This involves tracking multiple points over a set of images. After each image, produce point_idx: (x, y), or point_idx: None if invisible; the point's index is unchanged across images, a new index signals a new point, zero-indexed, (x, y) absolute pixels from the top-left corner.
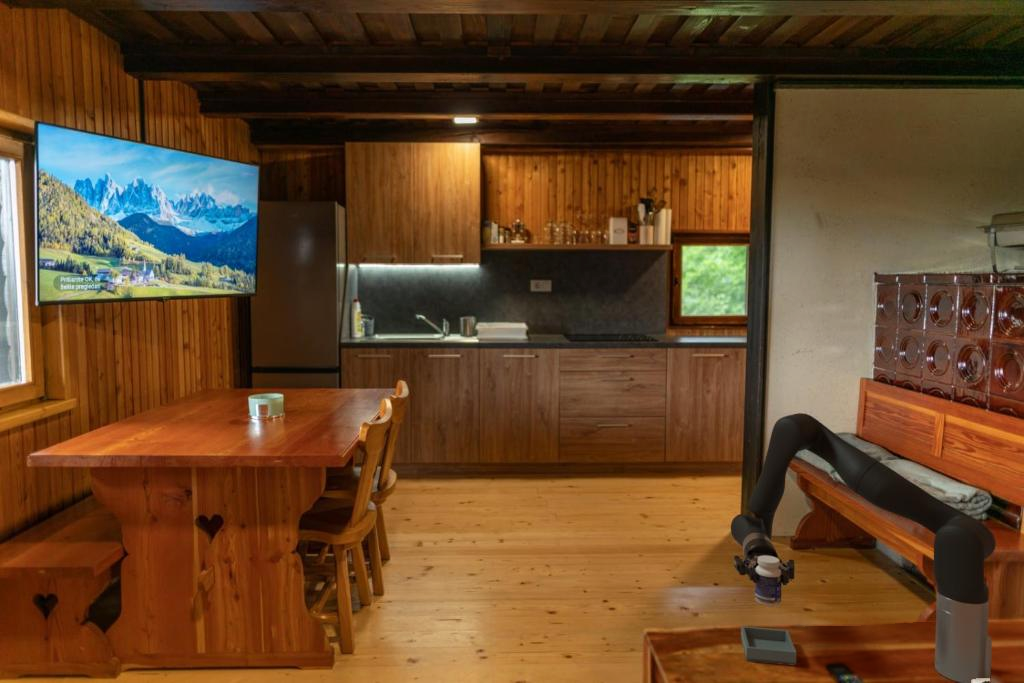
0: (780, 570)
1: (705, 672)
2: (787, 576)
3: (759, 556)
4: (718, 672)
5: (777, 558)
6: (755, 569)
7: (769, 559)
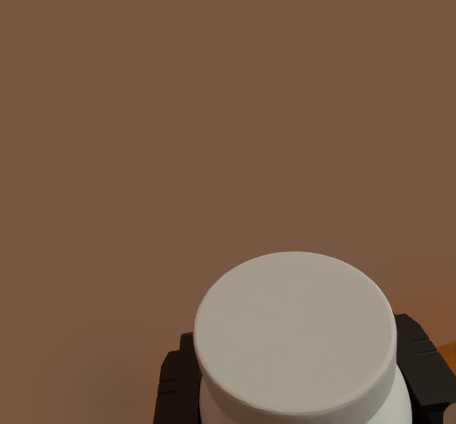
0: (203, 381)
1: (449, 352)
2: (171, 364)
3: (387, 342)
4: None
5: (202, 357)
6: (401, 373)
7: (278, 303)
